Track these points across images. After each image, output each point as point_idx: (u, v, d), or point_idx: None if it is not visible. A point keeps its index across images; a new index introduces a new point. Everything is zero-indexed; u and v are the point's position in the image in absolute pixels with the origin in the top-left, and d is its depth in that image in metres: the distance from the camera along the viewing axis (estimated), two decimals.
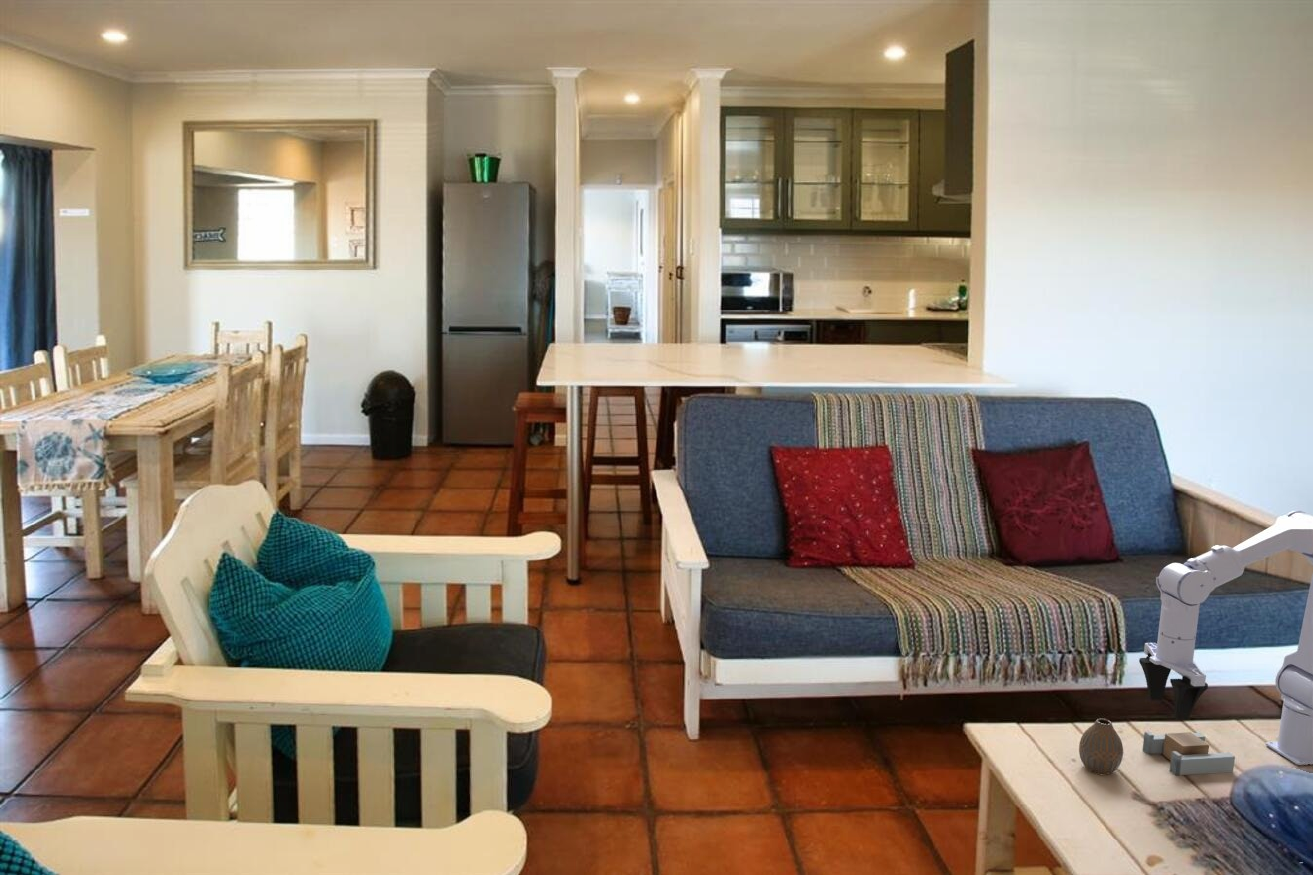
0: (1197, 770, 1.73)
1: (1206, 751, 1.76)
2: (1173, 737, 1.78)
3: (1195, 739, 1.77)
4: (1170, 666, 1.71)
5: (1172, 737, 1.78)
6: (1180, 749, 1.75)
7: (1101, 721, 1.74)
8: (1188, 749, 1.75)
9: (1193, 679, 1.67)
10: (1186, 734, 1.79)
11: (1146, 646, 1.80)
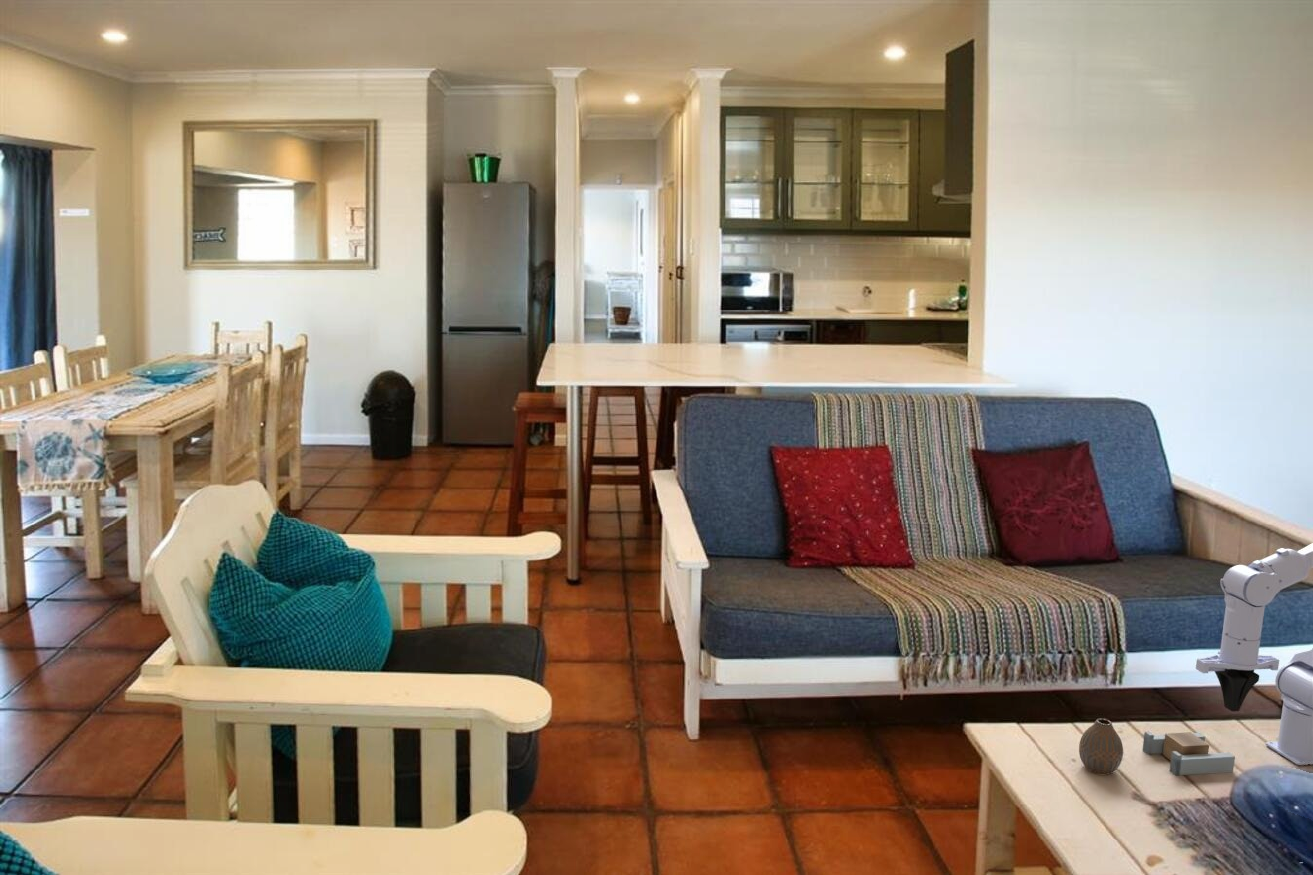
0: (1197, 770, 1.73)
1: (1206, 751, 1.76)
2: (1173, 737, 1.78)
3: (1195, 739, 1.77)
4: None
5: (1172, 737, 1.78)
6: (1180, 749, 1.75)
7: (1101, 721, 1.74)
8: (1188, 749, 1.75)
9: None
10: (1186, 734, 1.79)
11: (1266, 657, 1.78)
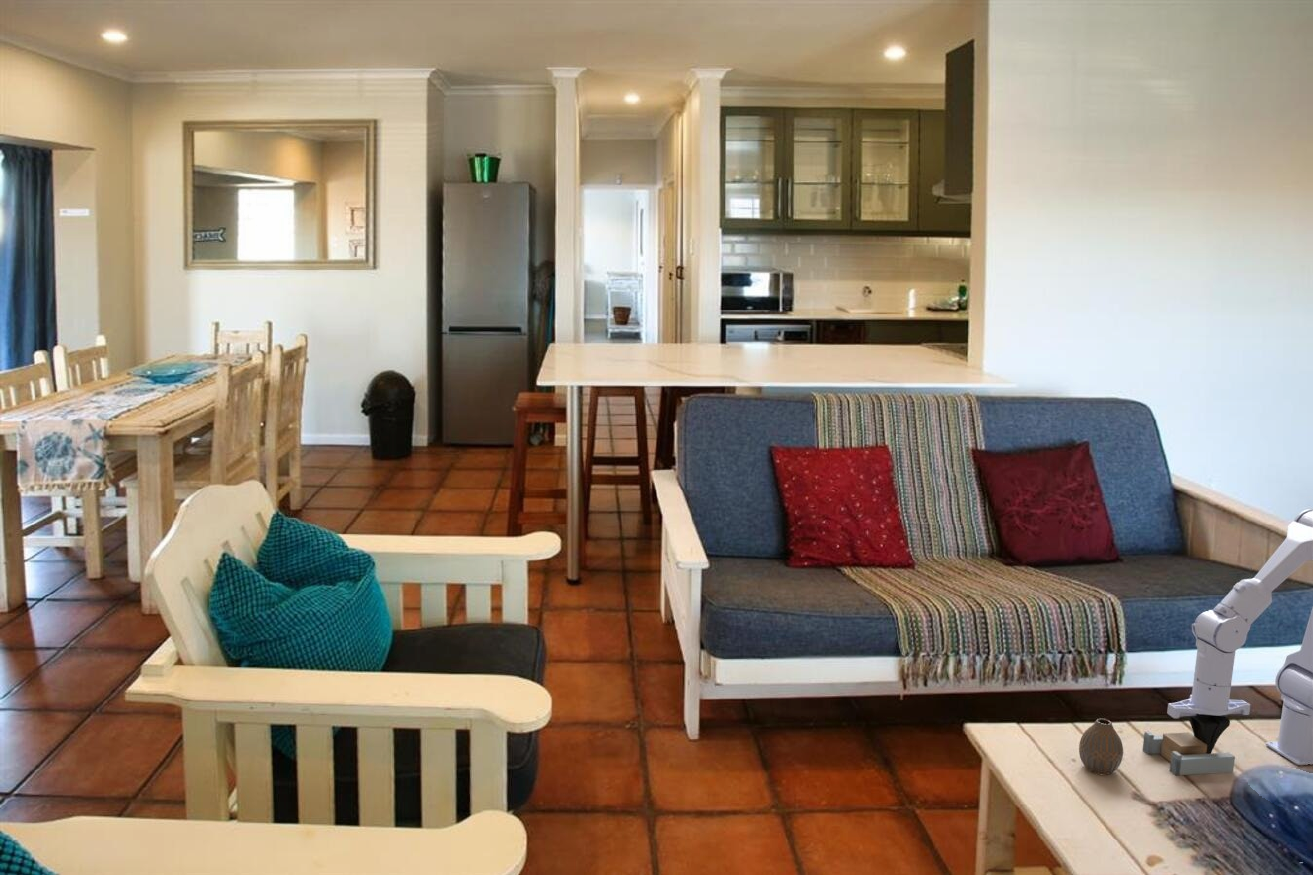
0: (1197, 770, 1.73)
1: (1204, 751, 1.76)
2: (1171, 737, 1.78)
3: (1193, 739, 1.77)
4: None
5: (1170, 737, 1.78)
6: (1178, 749, 1.75)
7: (1101, 721, 1.74)
8: (1186, 749, 1.75)
9: None
10: (1184, 734, 1.79)
11: None
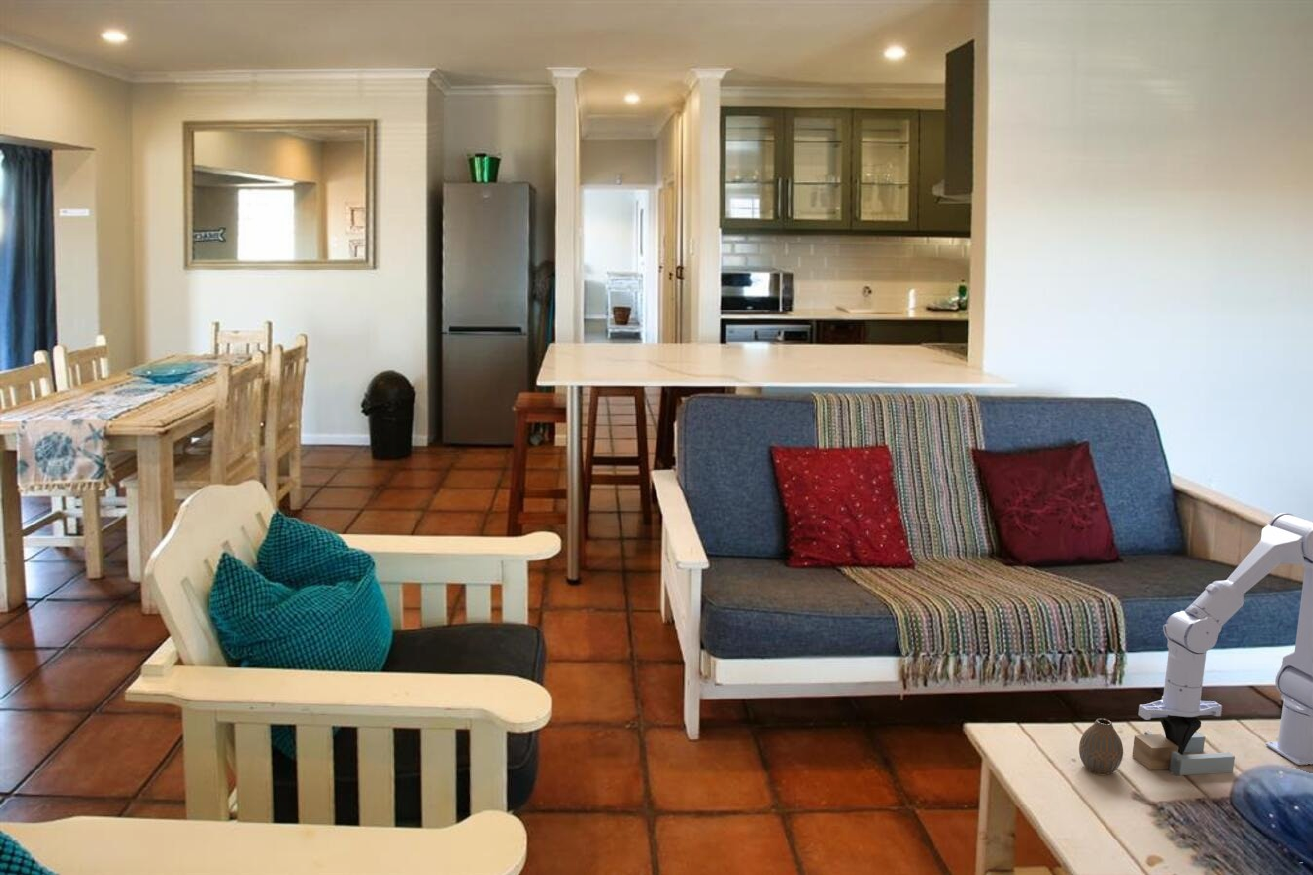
0: (1197, 770, 1.73)
1: None
2: (1142, 739, 1.77)
3: (1164, 741, 1.76)
4: None
5: (1142, 739, 1.77)
6: (1149, 750, 1.74)
7: (1101, 721, 1.74)
8: (1157, 751, 1.74)
9: None
10: (1155, 736, 1.78)
11: None
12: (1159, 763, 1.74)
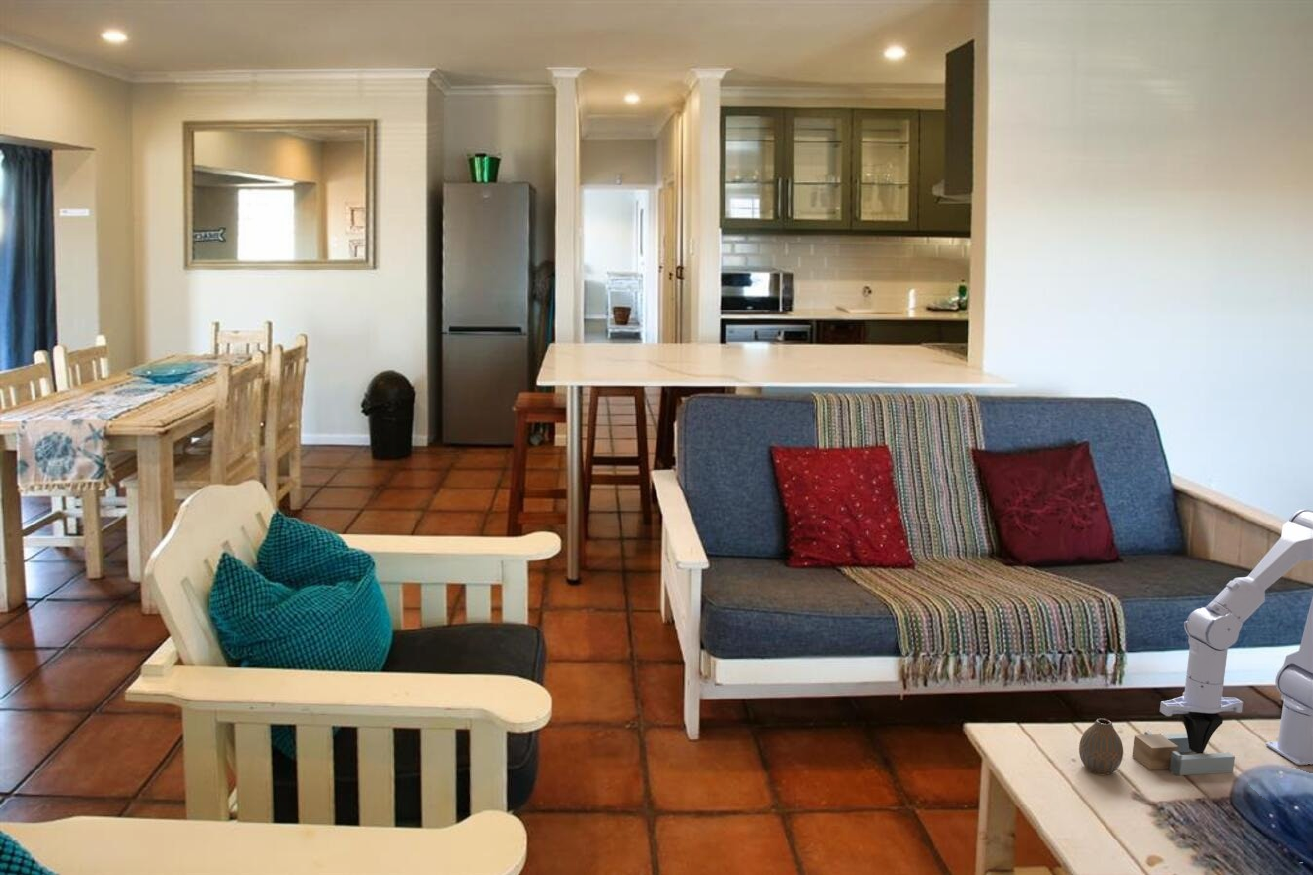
0: (1197, 770, 1.73)
1: None
2: (1142, 739, 1.77)
3: (1164, 741, 1.76)
4: None
5: (1142, 739, 1.77)
6: (1149, 750, 1.74)
7: (1101, 721, 1.74)
8: (1157, 751, 1.74)
9: None
10: (1155, 736, 1.78)
11: (1231, 699, 1.79)
12: (1159, 763, 1.74)
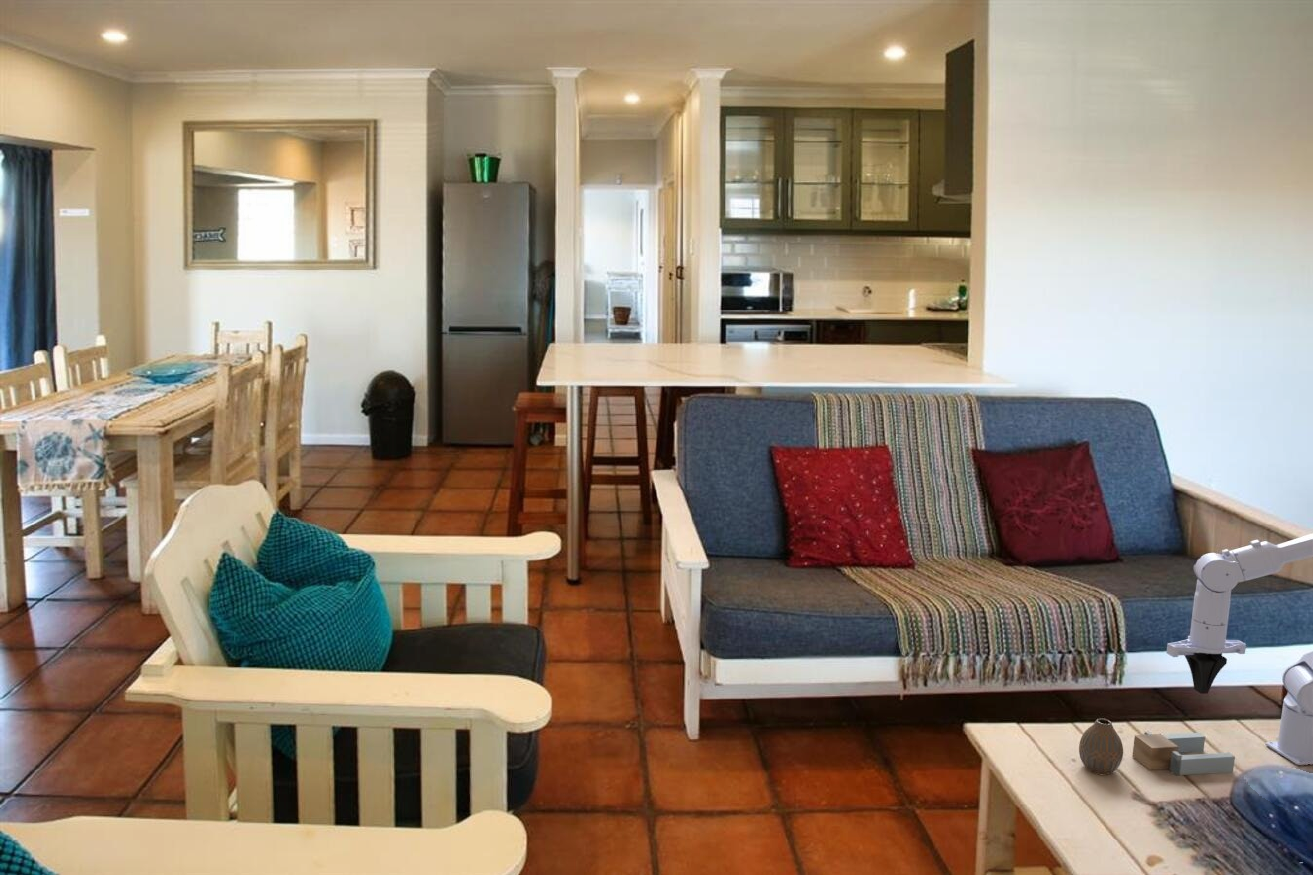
0: (1197, 770, 1.73)
1: None
2: (1142, 739, 1.77)
3: (1164, 741, 1.76)
4: None
5: (1142, 739, 1.77)
6: (1149, 750, 1.74)
7: (1101, 721, 1.74)
8: (1157, 751, 1.74)
9: None
10: (1155, 736, 1.78)
11: None
12: (1159, 763, 1.74)
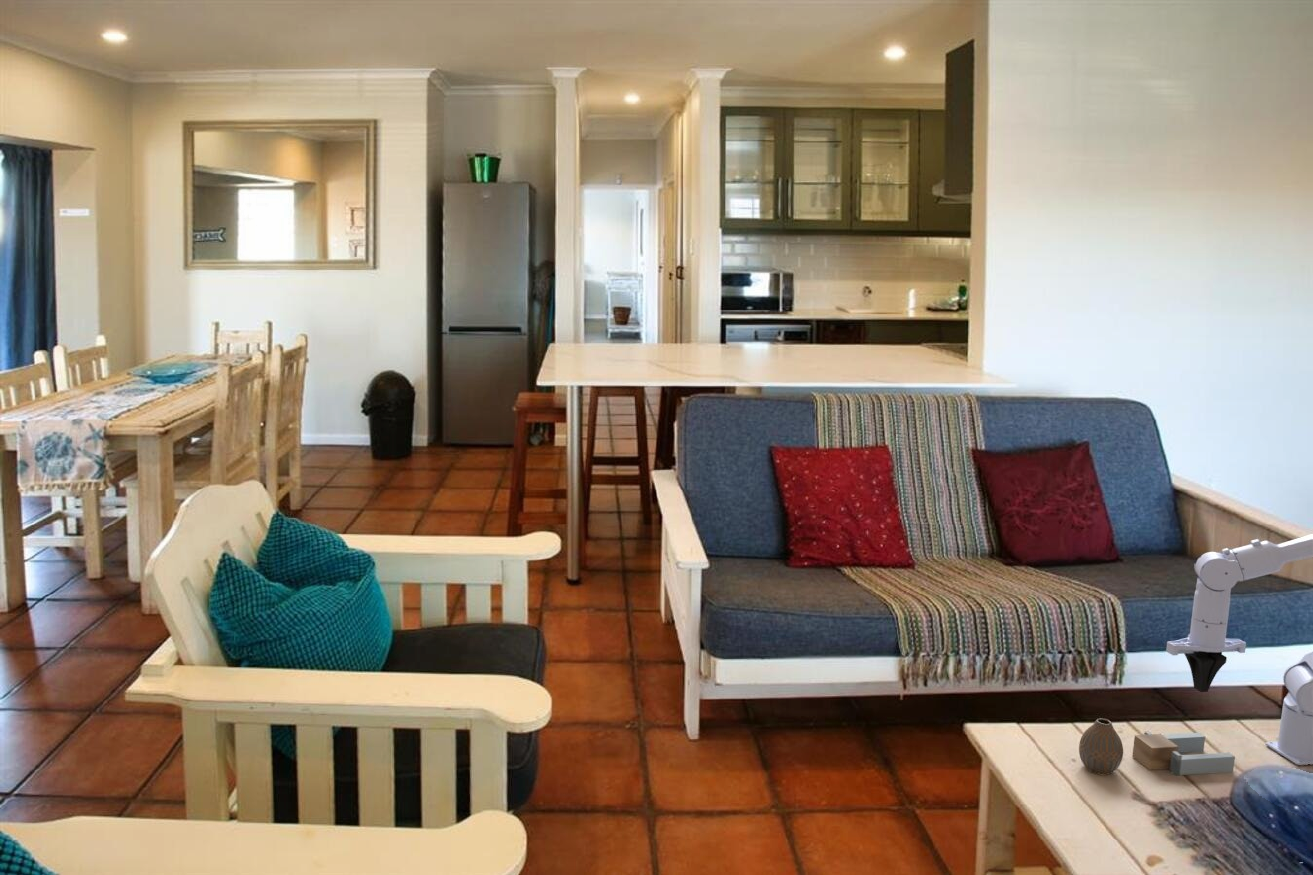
0: (1197, 770, 1.73)
1: None
2: (1142, 739, 1.77)
3: (1164, 741, 1.76)
4: None
5: (1142, 739, 1.77)
6: (1149, 750, 1.74)
7: (1101, 721, 1.74)
8: (1157, 751, 1.74)
9: None
10: (1155, 736, 1.78)
11: (1234, 640, 1.86)
12: (1159, 763, 1.74)
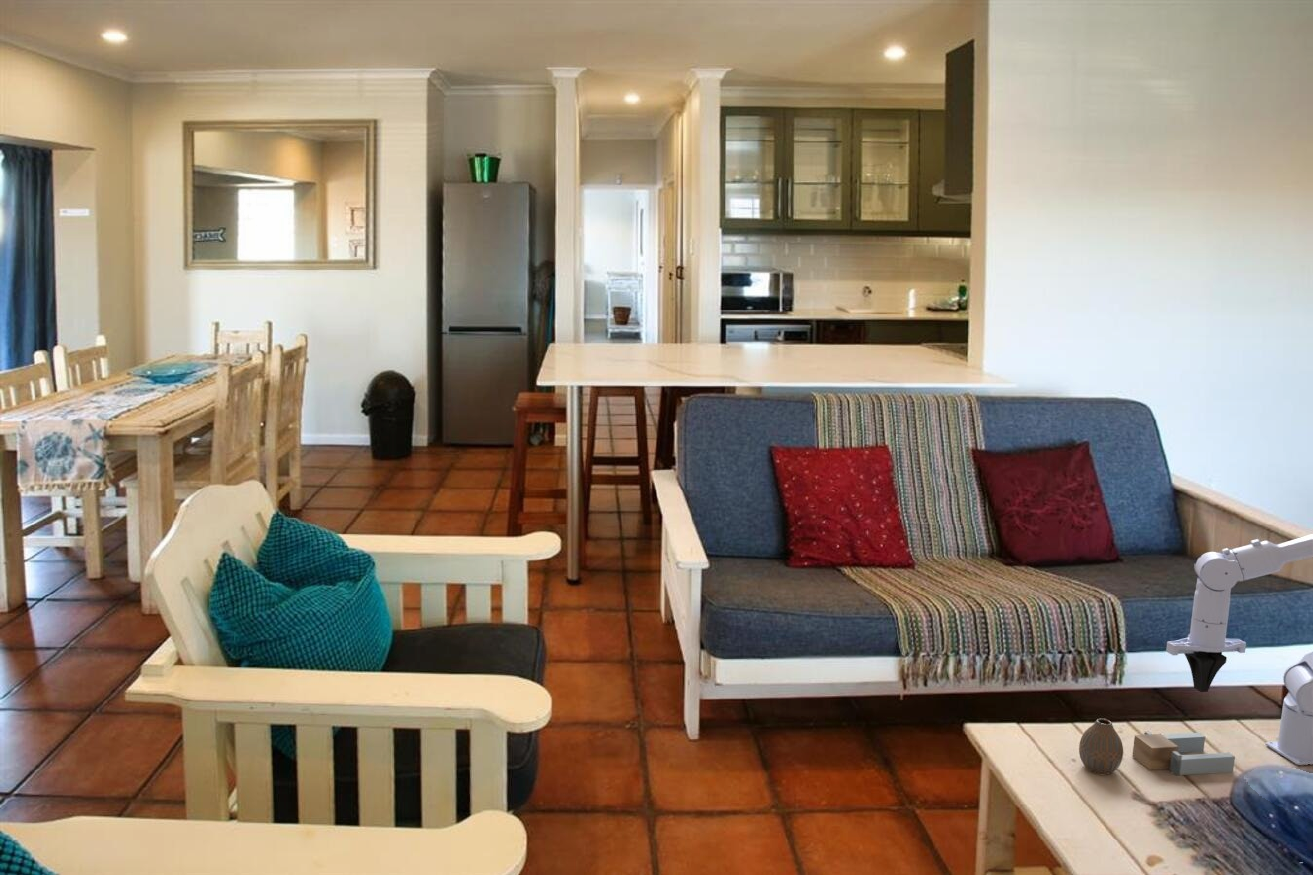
0: (1197, 770, 1.73)
1: None
2: (1142, 739, 1.77)
3: (1164, 741, 1.76)
4: None
5: (1142, 739, 1.77)
6: (1149, 750, 1.74)
7: (1101, 721, 1.74)
8: (1157, 751, 1.74)
9: None
10: (1155, 736, 1.78)
11: (1234, 640, 1.86)
12: (1159, 763, 1.74)
